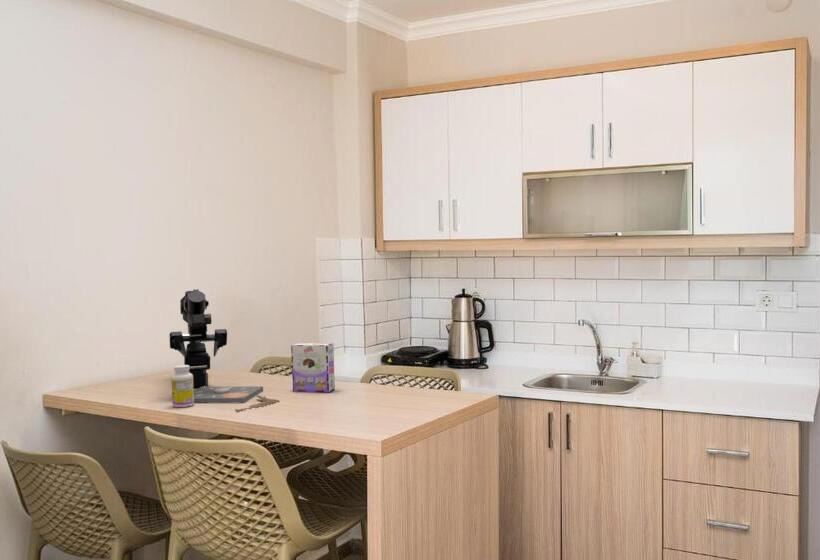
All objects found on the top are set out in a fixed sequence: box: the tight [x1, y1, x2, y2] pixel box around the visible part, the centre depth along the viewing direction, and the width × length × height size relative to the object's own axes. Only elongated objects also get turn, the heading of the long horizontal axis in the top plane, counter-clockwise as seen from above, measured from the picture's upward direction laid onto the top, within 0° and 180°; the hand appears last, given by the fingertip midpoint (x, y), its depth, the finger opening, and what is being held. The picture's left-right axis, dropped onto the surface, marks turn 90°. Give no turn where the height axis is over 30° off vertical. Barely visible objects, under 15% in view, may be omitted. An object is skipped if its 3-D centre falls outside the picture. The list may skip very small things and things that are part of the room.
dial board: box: [194, 386, 264, 404], centre depth 273 cm, size 22×21×3 cm
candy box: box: [290, 342, 336, 393], centre depth 280 cm, size 14×6×16 cm, turn 71°
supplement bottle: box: [171, 364, 195, 408], centre depth 259 cm, size 7×7×13 cm
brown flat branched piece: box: [234, 394, 280, 413], centre depth 257 cm, size 9×20×2 cm, turn 171°
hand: (200, 356), depth 268 cm, fingers open, 9 cm apart
